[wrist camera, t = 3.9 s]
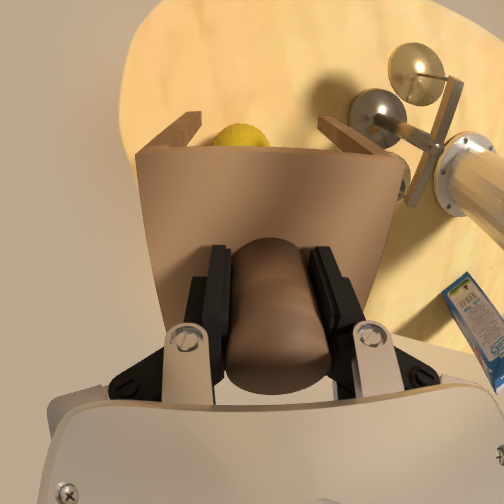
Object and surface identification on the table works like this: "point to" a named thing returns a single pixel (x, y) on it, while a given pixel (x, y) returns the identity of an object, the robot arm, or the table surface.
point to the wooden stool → (266, 237)
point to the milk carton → (479, 326)
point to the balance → (394, 115)
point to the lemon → (241, 136)
